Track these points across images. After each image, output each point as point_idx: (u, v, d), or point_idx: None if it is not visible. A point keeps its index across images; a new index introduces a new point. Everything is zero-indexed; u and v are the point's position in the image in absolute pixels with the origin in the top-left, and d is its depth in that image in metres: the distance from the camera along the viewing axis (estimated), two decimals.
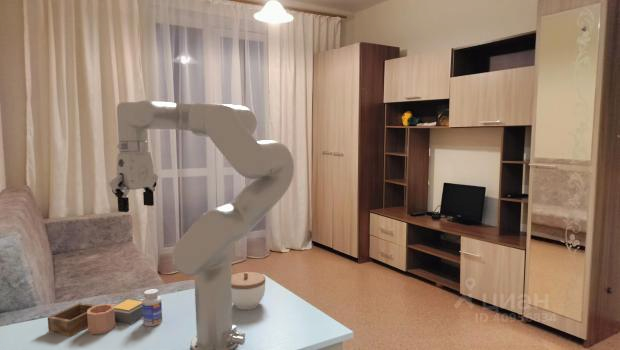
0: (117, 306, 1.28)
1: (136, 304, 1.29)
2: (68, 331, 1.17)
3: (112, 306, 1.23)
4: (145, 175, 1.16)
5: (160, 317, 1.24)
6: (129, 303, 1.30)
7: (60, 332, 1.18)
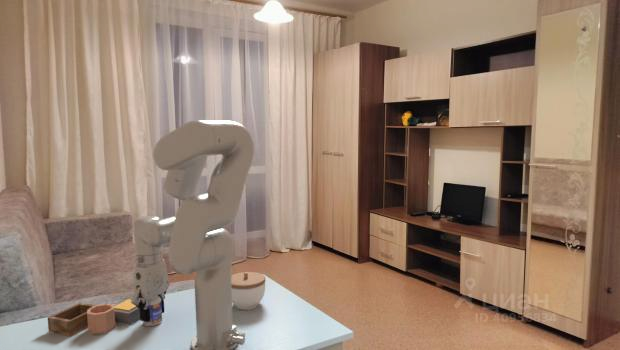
0: (117, 306, 1.28)
1: None
2: (68, 331, 1.17)
3: (112, 306, 1.23)
4: (160, 283, 1.24)
5: (160, 317, 1.24)
6: (129, 303, 1.30)
7: (60, 332, 1.18)
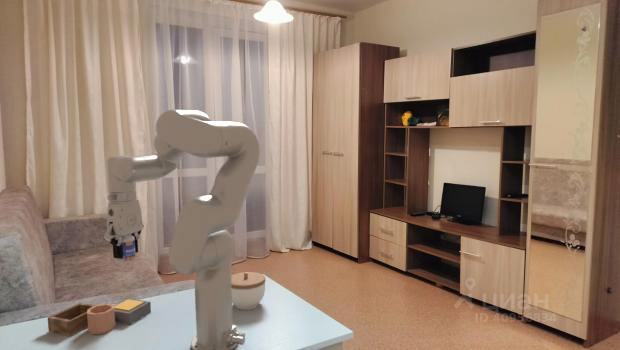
0: (117, 306, 1.28)
1: (136, 304, 1.29)
2: (68, 331, 1.17)
3: (112, 306, 1.23)
4: (133, 222, 1.26)
5: (133, 255, 1.27)
6: (129, 303, 1.30)
7: (60, 332, 1.18)
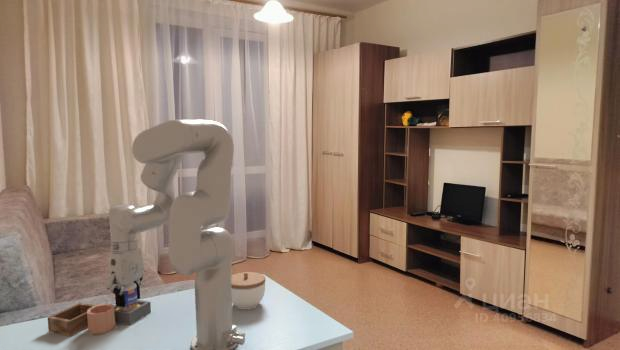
0: (117, 309, 1.28)
1: None
2: (68, 331, 1.17)
3: (112, 306, 1.23)
4: (135, 269, 1.28)
5: (135, 302, 1.28)
6: None
7: (60, 332, 1.18)
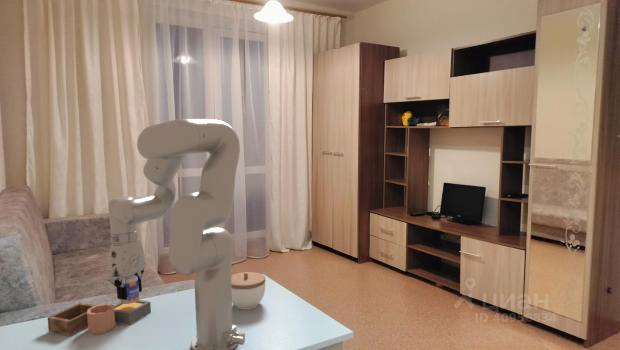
0: (117, 308, 1.28)
1: (136, 306, 1.29)
2: (68, 331, 1.17)
3: (112, 306, 1.23)
4: (136, 262, 1.27)
5: (137, 295, 1.28)
6: (129, 305, 1.30)
7: (60, 332, 1.18)
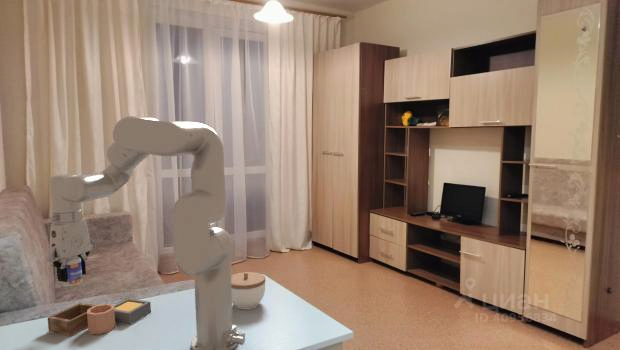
0: (117, 308, 1.28)
1: (136, 306, 1.29)
2: (68, 331, 1.17)
3: (112, 306, 1.23)
4: (79, 243, 1.21)
5: (79, 278, 1.21)
6: (129, 305, 1.30)
7: (60, 332, 1.18)
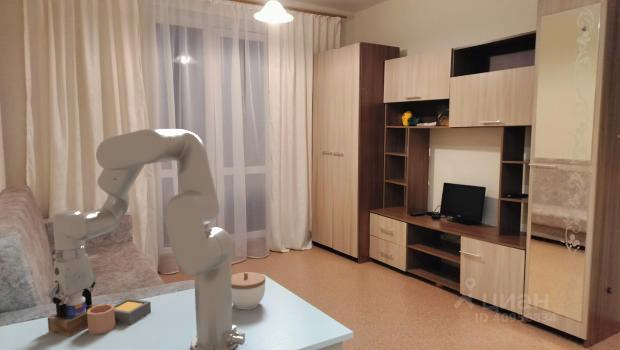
0: (117, 308, 1.28)
1: (136, 306, 1.29)
2: (68, 331, 1.17)
3: (112, 306, 1.23)
4: (82, 278, 1.22)
5: None
6: (129, 305, 1.30)
7: (60, 332, 1.18)
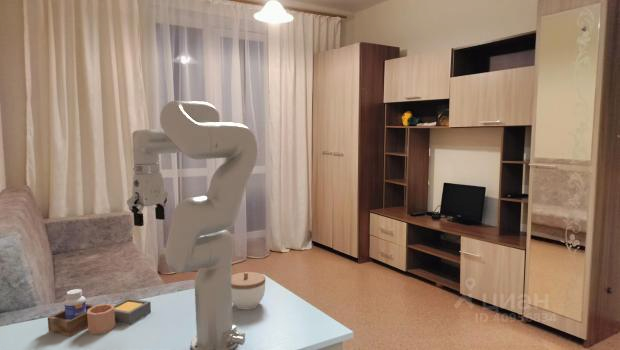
0: (117, 308, 1.28)
1: (136, 306, 1.29)
2: (68, 331, 1.17)
3: (112, 306, 1.23)
4: (157, 193, 1.32)
5: None
6: (129, 305, 1.30)
7: (60, 332, 1.18)
